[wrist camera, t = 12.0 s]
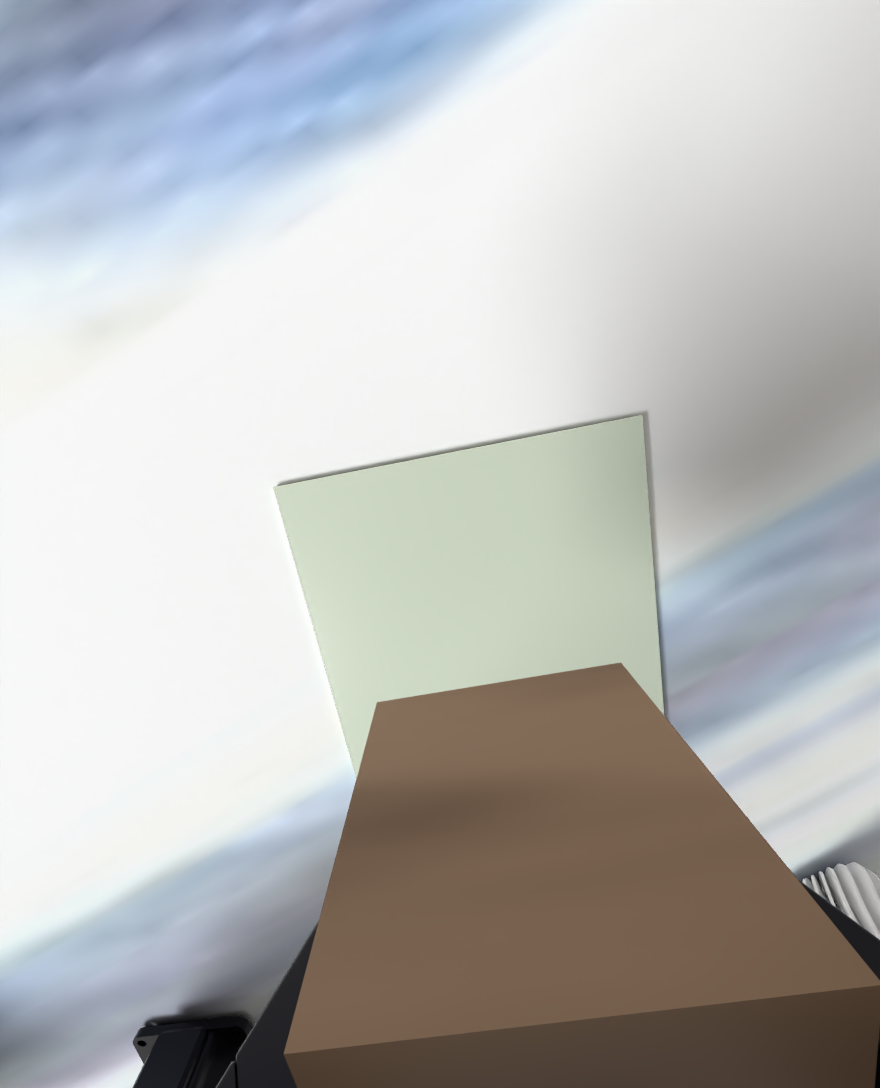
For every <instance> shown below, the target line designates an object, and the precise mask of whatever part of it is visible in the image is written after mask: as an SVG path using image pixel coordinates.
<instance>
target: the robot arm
mask: <svg viewBox="0 0 880 1088" xmlns="http://www.w3.org/2000/svg"><path fill="white" fill-rule="evenodd" d="M798 881H799V882H800V883H801V884H802V886H803V887H804V888H805V889H806V890H807V892H808V893H809V894H810V895H811V897H812V898H813V899H814V900H815V901H816V903H817V904H818V905H819V906H820V908H821V909H822V910H823V911H824V913H825V914H826V915H827V916H828V917H829V919H830V920H831V921H832V922H833V924H834V925H835V926H836V927H837V929H838V930H839V931H840V932H841V933H842V935H843V936H844V937H845V938H846V940H847V941H848V942H849V943H850V945H851V946H852V947H853V948H854V949H855V951H856V952H857V953H858V954H859V956H860V957H861V958H862V959H863V960H864V962H865V963H866V964H867V965H868V967H869V968H870V969H871V970H872V972H873V973H874V974H875V975H876V976H877V978H878V979H879V980H880V939H878V938H877V937H876V936H874V935H873V934H871V933H870V932H869V931H867V930H866V929H865V928H863V927H862V926H861V925H859V924H858V923H857V922H855V921H854V920H853V919H851V918H850V917H849V916H847V915H846V914H844V913H843V912H842V911H840V910H839V909H838V908H836V907H835V906H834V905H832V904H831V903H830V902H828V901H827V900H826V899H824V898H823V897H822V896H820V895H819V894H817V893H816V892H815V891H813V890H812V889H811V888H809V887H808V886H807V885H805V884H804V883H803V882H801V881H800V880H799V879H798ZM318 923H319V921H318V922H317V924H316V926H315V927H314V929H313V931H312V932H311V934H310V935H309V937H308V939H307V940H306V942H305V944H304V945H303V947H302V948H301V950H300V952H299V953H298V955H297V957H296V958H295V960H294V961H293V963H292V965H291V966H290V968H289V970H288V971H287V973H286V974H285V976H284V978H283V979H282V981H281V983H280V984H279V986H278V987H277V989H276V991H275V992H274V994H273V996H272V997H271V999H270V1001H269V1002H268V1004H267V1005H266V1007H265V1009H264V1010H263V1012H262V1014H261V1015H260V1017H259V1018H258V1020H257V1022H256V1023H255V1025H254V1027H253V1028H251V1026H250V1024H249V1021H248V1020H247V1019H246V1018H244V1017H241V1016H235V1017H227V1018H218V1019H210V1020H201V1021H193V1022H184V1023H176V1024H168V1025H159V1026H151V1027H143V1028H140V1029H139V1031H138V1032H137V1034H136V1036H135V1038H134V1040H133V1045H134V1046H135V1048H136V1050H137V1052H138V1054H139V1056H140V1058H141V1060H142V1061H143V1063H144V1065H143V1067H142V1069H141V1071H140V1073H139V1075H138V1078H137V1080H136V1082H135V1084H134V1086H133V1088H297V1086H296V1083H295V1081H294V1078H293V1076H292V1073H291V1071H290V1068H289V1066H288V1064H287V1061H286V1059H285V1056H284V1051H285V1047H286V1043H287V1040H288V1036H289V1032H290V1028H291V1024H292V1021H293V1017H294V1013H295V1009H296V1006H297V1002H298V998H299V994H300V991H301V987H302V983H303V979H304V975H305V972H306V968H307V964H308V960H309V957H310V953H311V949H312V945H313V941H314V938H315V934H316V930H317V926H318ZM875 1088H880V1029H879V1041H878V1053H877V1065H876V1076H875Z"/></svg>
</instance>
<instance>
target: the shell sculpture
mask: <svg viewBox="0 0 880 1088" xmlns="http://www.w3.org/2000/svg"><path fill="white" fill-rule="evenodd" d="M811 879H812V881H810V880H809V879H803V881H802V882H803V883H804V884H805V885H807V886H808V887H809V888H811V889H812V890H813V891H815V892H816V893H817V894H819V895H820V896H822V897H823V898H824V899H826V900H827V898H826V897H825V895H824V893H823V891H822V889H821V887H820V885H819V883H818V881H817V879H816V877H815V876H814V875H811ZM819 879H820V882H821V884H822V886H823V888H824V890H825V892H826V894H827V896H828V898H829V900H830V902H831V904H832V905H834V906H835V903H834V901H833V898H834V900H835V901H836V903H837V905H838V906H837V907H838V908H839V909H840V910H841V911H842V912H843V913H844V914H846V915H847V916H849V917H850V918H851V919H853V920H854V921H855V922H857V923H858V924H859V925H861V926H862V927H863V928H865V929H866V930H867V931H869V932H870V933H871V934H873V935H874V936H876V937H877V938H878V939H880V879H879V878H878V876H877V875H876V874H874V873H873V872H872V871H870V870H869V869H867V868H864V867H863V866H861V865H859V864H858V863H855V862H851V863H848V864H847V865H843V864H837V865H836V866H835V867H834V869H832V868H829V867H827V869H826V872H825V876H824V874H823V872H821V871H819ZM830 892H831V893H830ZM831 894H832V896H833V898H832V896H831ZM827 901H828V900H827ZM835 907H836V906H835ZM837 907H836V908H837Z"/></svg>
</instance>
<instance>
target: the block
mask: <svg viewBox="0 0 880 1088" xmlns="http://www.w3.org/2000/svg"><path fill="white" fill-rule="evenodd" d="M879 1029H880V980H879V979H878V978H877V976H876V975H875V974H874V973H873V972H872V970H871V969H870V968H869V967H868V965H867V964H866V963H865V962H864V960H863V959H862V958H861V957H860V956H859V954H858V953H857V952H856V951H855V949H854V948H853V947H852V946H851V945H850V943H849V942H848V941H847V940H846V938H845V937H844V936H843V935H842V933H841V932H840V931H839V930H838V929H837V927H836V926H835V925H834V924H833V922H832V921H831V920H830V919H829V917H828V916H827V915H826V914H825V913H824V911H823V910H822V909H821V908H820V906H819V905H818V904H817V903H816V901H815V900H814V899H813V898H812V897H811V895H810V894H809V893H808V892H807V890H806V889H805V888H804V887H803V886H802V884H801V883H800V882H799V881H798V879H797V878H796V877H795V876H794V874H793V873H792V872H791V871H790V870H789V868H788V867H787V866H786V865H785V863H784V862H783V861H782V860H781V858H780V857H779V856H778V855H777V854H776V852H775V851H774V850H773V849H772V847H771V846H770V845H769V844H768V843H767V841H766V840H765V839H764V838H763V836H762V835H761V834H760V833H759V831H758V830H757V829H756V828H755V827H754V825H753V824H752V823H751V822H750V820H749V819H748V818H747V817H746V815H745V814H744V813H743V812H742V811H741V809H740V808H739V807H738V806H737V804H736V803H735V802H734V801H733V799H732V798H731V797H730V796H729V795H728V793H727V792H726V791H725V790H724V788H723V787H722V786H721V785H720V784H719V782H718V781H717V780H716V779H715V777H714V776H713V775H712V774H711V772H710V771H709V770H708V769H707V768H706V766H705V765H704V764H703V763H702V761H701V760H700V759H699V758H698V756H697V755H696V754H695V753H694V752H693V750H692V749H691V748H690V747H689V745H688V744H687V743H686V742H685V741H684V739H683V738H682V737H681V736H680V734H679V733H678V732H677V731H676V729H675V728H674V727H673V726H672V725H671V723H670V722H669V721H668V720H667V718H666V717H665V716H664V715H663V713H662V712H661V711H660V710H659V709H658V707H657V706H656V705H655V704H654V702H653V701H652V700H651V699H650V698H649V696H648V695H647V694H646V693H645V691H644V690H643V689H642V688H641V686H640V685H639V684H638V683H637V682H636V680H635V679H634V678H633V677H632V675H631V674H630V673H629V672H628V670H627V669H626V668H625V667H624V666H623V664H622V663H615V664H608V665H602V666H596V667H590V668H584V669H578V670H572V671H565V672H559V673H553V674H547V675H541V676H535V677H529V678H523V679H516V680H510V681H504V682H498V683H492V684H486V685H480V686H473V687H467V688H461V689H455V690H449V691H443V692H437V693H431V694H424V695H418V696H412V697H406V698H400V699H394V700H388V701H381V702H377V704H376V708H375V711H374V715H373V719H372V723H371V726H370V730H369V734H368V738H367V741H366V745H365V749H364V753H363V757H362V760H361V764H360V768H359V772H358V775H357V779H356V783H355V787H354V791H353V794H352V798H351V802H350V806H349V809H348V813H347V817H346V821H345V824H344V828H343V832H342V836H341V840H340V843H339V847H338V851H337V855H336V858H335V862H334V866H333V870H332V874H331V877H330V881H329V885H328V889H327V892H326V896H325V900H324V904H323V908H322V911H321V915H320V919H319V923H318V926H317V930H316V934H315V938H314V941H313V945H312V949H311V953H310V957H309V960H308V964H307V968H306V972H305V975H304V979H303V983H302V987H301V991H300V994H299V998H298V1002H297V1006H296V1009H295V1013H294V1017H293V1021H292V1024H291V1028H290V1032H289V1036H288V1040H287V1043H286V1047H285V1051H284V1056H285V1059H286V1061H287V1064H288V1066H289V1068H290V1071H291V1073H292V1076H293V1078H294V1081H295V1083H296V1086H297V1088H875V1076H876V1065H877V1053H878V1041H879Z"/></svg>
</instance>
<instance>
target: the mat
mask: <svg viewBox="0 0 880 1088" xmlns="http://www.w3.org/2000/svg"><path fill="white" fill-rule="evenodd" d="M273 488H274V492H275V495H276V499H277V502H278V506H279V509H280V513H281V516H282V520H283V523H284V527H285V530H286V534H287V537H288V541H289V544H290V548H291V551H292V555H293V558H294V562H295V565H296V569H297V572H298V576H299V579H300V583H301V586H302V590H303V593H304V597H305V600H306V604H307V607H308V611H309V614H310V618H311V621H312V625H313V628H314V632H315V635H316V639H317V642H318V646H319V649H320V653H321V656H322V660H323V663H324V667H325V670H326V674H327V677H328V681H329V684H330V688H331V691H332V695H333V698H334V702H335V705H336V709H337V712H338V716H339V719H340V723H341V726H342V729H343V733H344V736H345V740H346V743H347V747H348V750H349V754H350V757H351V761H352V764H353V768H354V771H355V775H356V778H357V775H358V772H359V768H360V764H361V760H362V757H363V753H364V749H365V745H366V741H367V738H368V734H369V730H370V726H371V723H372V719H373V715H374V711H375V708H376V704H377V702H381V701H388V700H394V699H400V698H406V697H412V696H418V695H424V694H431V693H437V692H443V691H449V690H455V689H461V688H467V687H473V686H480V685H486V684H492V683H498V682H504V681H510V680H516V679H523V678H529V677H535V676H541V675H547V674H553V673H559V672H565V671H572V670H578V669H584V668H590V667H596V666H602V665H608V664H615V663H622V664H623V666H624V667H625V668H626V669H627V670H628V672H629V673H630V674H631V675H632V677H633V678H634V679H635V680H636V682H637V683H638V684H639V685H640V686H641V688H642V689H643V690H644V691H645V693H646V694H647V695H648V696H649V698H650V699H651V700H652V701H653V702H654V704H655V705H656V706H657V707H658V709H659V710H660V711H661V712H662V713H663V715H664V706H663V692H662V678H661V664H660V651H659V637H658V623H657V609H656V595H655V581H654V567H653V553H652V539H651V525H650V512H649V498H648V484H647V470H646V456H645V442H644V428H643V415H638V416H633V417H628V418H623V419H618V420H613V421H608V422H603V423H598V424H592V425H587V426H582V427H577V428H572V429H567V430H562V431H557V432H552V433H546V434H541V435H536V436H531V437H526V438H521V439H516V440H511V441H506V442H501V443H495V444H490V445H485V446H480V447H475V448H470V449H465V450H460V451H455V452H449V453H444V454H439V455H434V456H429V457H424V458H419V459H414V460H409V461H404V462H398V463H393V464H388V465H383V466H378V467H373V468H368V469H363V470H358V471H352V472H347V473H342V474H337V475H332V476H327V477H322V478H317V479H312V480H307V481H301V482H296V483H291V484H286V485H281V486H276V487H273Z"/></svg>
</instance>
